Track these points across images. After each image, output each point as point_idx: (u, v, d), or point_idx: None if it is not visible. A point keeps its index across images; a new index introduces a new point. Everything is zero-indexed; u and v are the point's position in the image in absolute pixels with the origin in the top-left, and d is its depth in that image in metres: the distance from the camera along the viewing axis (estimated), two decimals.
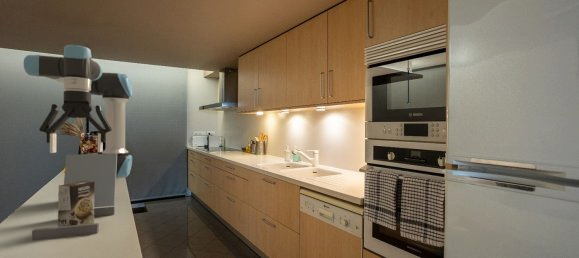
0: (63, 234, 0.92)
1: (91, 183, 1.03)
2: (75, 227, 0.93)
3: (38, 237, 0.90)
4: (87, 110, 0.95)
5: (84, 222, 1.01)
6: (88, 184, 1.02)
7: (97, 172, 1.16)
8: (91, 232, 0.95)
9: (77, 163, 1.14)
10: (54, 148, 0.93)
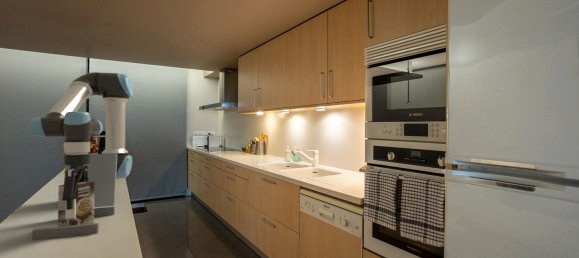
0: (63, 234, 0.92)
1: (91, 183, 1.03)
2: (75, 227, 0.93)
3: (38, 237, 0.90)
4: None
5: (84, 222, 1.01)
6: (88, 184, 1.02)
7: (97, 172, 1.16)
8: (91, 232, 0.95)
9: None
10: None
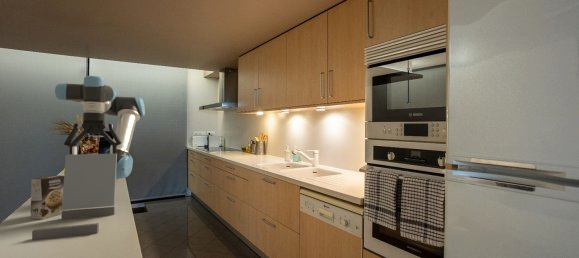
0: (63, 234, 0.92)
1: (62, 177, 1.16)
2: (75, 227, 0.93)
3: (38, 237, 0.90)
4: (102, 127, 1.18)
5: (55, 211, 1.13)
6: (59, 178, 1.15)
7: (97, 172, 1.15)
8: (91, 232, 0.95)
9: (76, 163, 1.13)
10: None
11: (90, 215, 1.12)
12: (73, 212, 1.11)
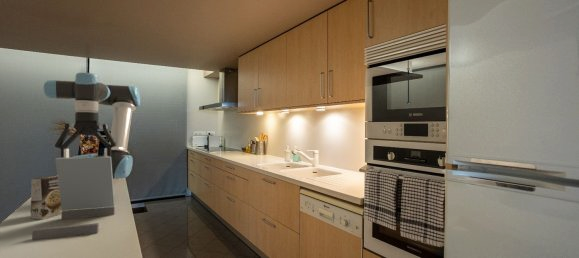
0: (63, 234, 0.92)
1: None
2: (75, 227, 0.93)
3: (38, 237, 0.90)
4: (95, 128, 1.10)
5: (55, 211, 1.13)
6: None
7: (92, 176, 1.10)
8: (91, 232, 0.95)
9: (68, 167, 1.06)
10: None
11: (90, 215, 1.12)
12: (73, 212, 1.11)
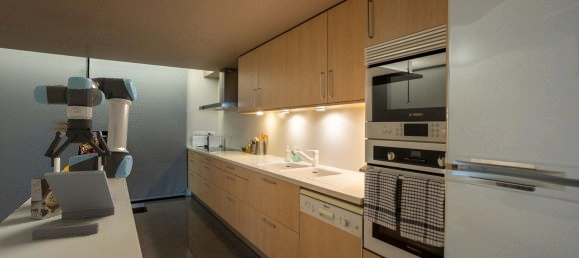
0: (63, 234, 0.92)
1: None
2: (75, 227, 0.93)
3: (38, 237, 0.90)
4: (89, 136, 1.03)
5: (55, 211, 1.13)
6: None
7: (87, 187, 1.05)
8: (91, 232, 0.95)
9: (60, 181, 1.00)
10: (58, 171, 1.01)
11: (90, 215, 1.12)
12: (73, 212, 1.11)
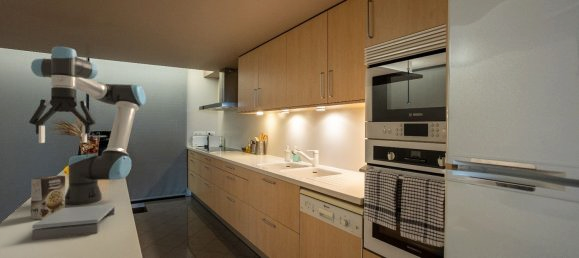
0: (63, 234, 0.92)
1: (62, 177, 1.16)
2: (75, 227, 0.93)
3: (38, 237, 0.90)
4: (72, 105, 1.06)
5: (55, 211, 1.13)
6: (59, 178, 1.15)
7: None
8: (91, 232, 0.95)
9: None
10: (43, 139, 1.04)
11: None
12: None
